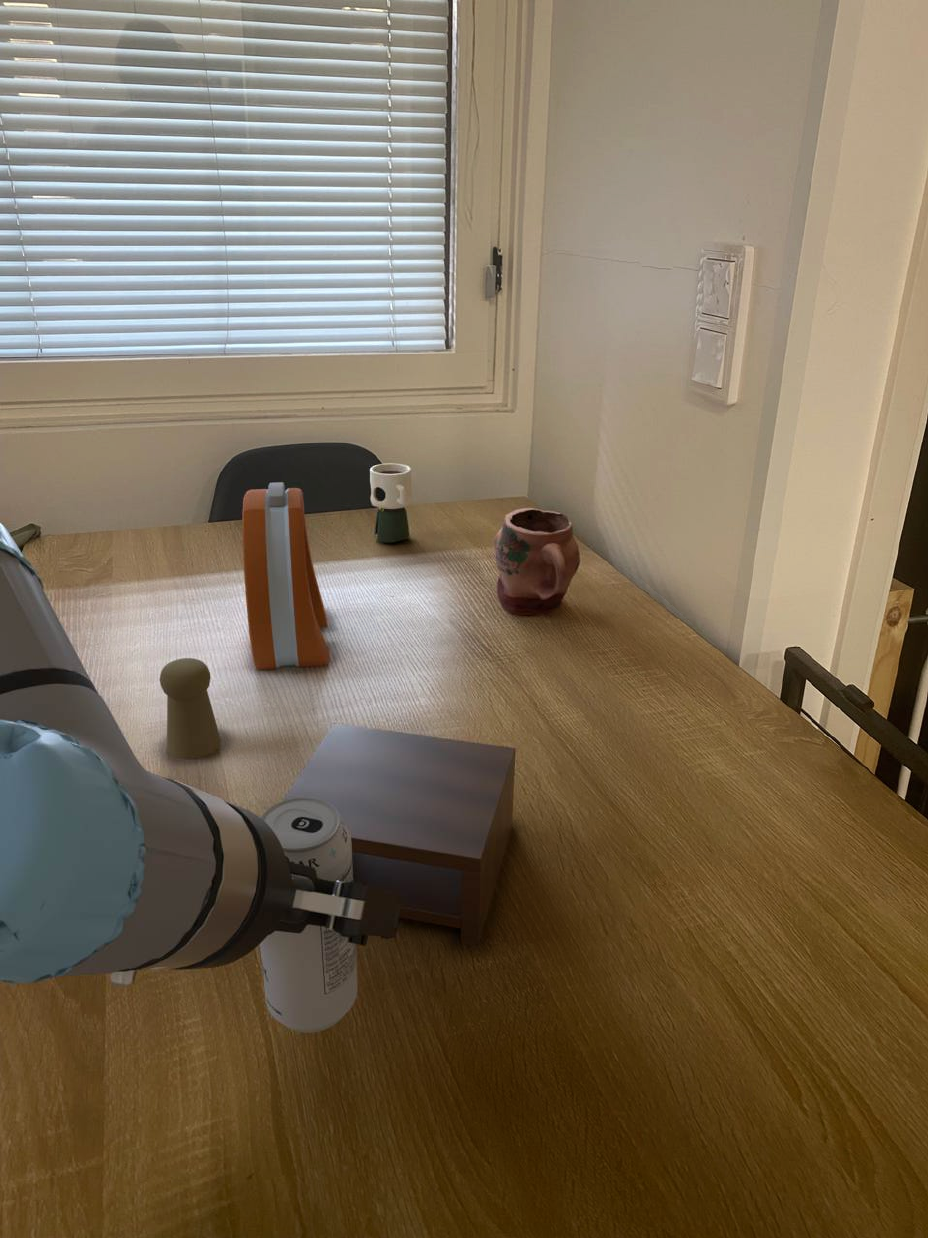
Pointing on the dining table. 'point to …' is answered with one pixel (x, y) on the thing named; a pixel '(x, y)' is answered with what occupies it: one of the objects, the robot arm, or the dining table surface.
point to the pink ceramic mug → (535, 560)
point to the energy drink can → (316, 958)
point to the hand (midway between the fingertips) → (328, 902)
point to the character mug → (391, 500)
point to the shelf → (419, 817)
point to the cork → (189, 709)
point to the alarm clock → (281, 581)
